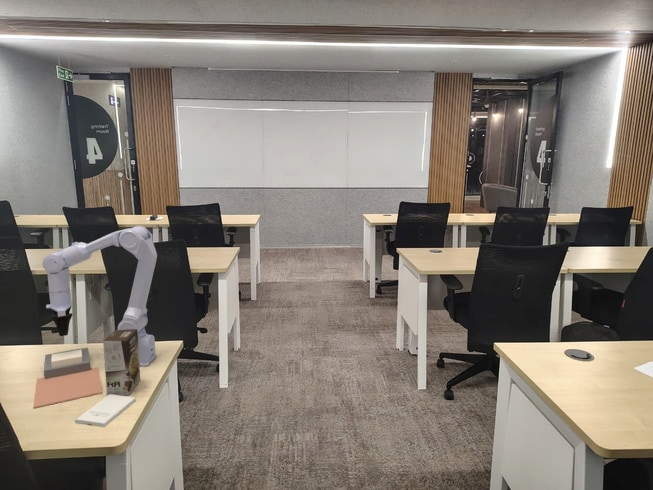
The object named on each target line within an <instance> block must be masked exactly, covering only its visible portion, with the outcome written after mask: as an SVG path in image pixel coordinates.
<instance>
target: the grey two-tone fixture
mask: <svg viewBox="0 0 653 490" xmlns="http://www.w3.org/2000/svg"><path fill="white" fill-rule="evenodd" d="M75 350H81V351H82V363H77V364H72V365H66V366H61V367H55V368H52V364H51V358H52V354H57V353H63V352H69V351H75ZM90 359H91V358H90V352H89V347H82V348H77V349H72V350H65V351H60V352H59V351H58V352H54V353H49V354H48V353H47V354H45V355H44V365H43V366H44V367H43V375H44V376H43V377H45V379H48V378H53V377H59V376H64V375H69V374H74V373H79V372H84V371H89V370H91V368H92V367H91V360H90Z"/></svg>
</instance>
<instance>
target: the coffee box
mask: <svg viewBox="0 0 653 490" xmlns="http://www.w3.org/2000/svg"><path fill="white" fill-rule="evenodd" d="M102 342H103V356H104V357H103V360H104V373H105V375H104V376H105V386H106V397H107V396H108V395H110V394H112V395H120V396H130V395H131V393H132V392H133V391H134V389H135V388H136V387H137V385H138V384H139V383H140V381H141V369H140V368H141V366H140V364H139V349H138V333H137V329H126V330H118V329H115V330H114V331H113V332H112V333H111V334H109V335H108V336H107V337H106V338H105V339H103V340H102Z"/></svg>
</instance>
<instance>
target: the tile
mask: <svg viewBox="0 0 653 490" xmlns="http://www.w3.org/2000/svg"><path fill="white" fill-rule="evenodd" d="M74 350H75V351H70V350H68V351H69V352H64V351H62V352H63V353H58V352H56V353H57V354H53V353H51V354H52V358H51V364H52V368H55V367H61V366H66V365H72V364H77V363H82V351H81V350H76V349H74Z"/></svg>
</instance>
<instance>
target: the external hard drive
mask: <svg viewBox="0 0 653 490" xmlns="http://www.w3.org/2000/svg"><path fill="white" fill-rule="evenodd" d="M135 402H136V397H134V396H129V395H112V394H110V395H108V396H107V395H106V396H105V397H104V398H103V399H101V400H100V401H99V402H97V403H95V404H94V405H93V406H92V407H90V408H89V409H88V410H86V412H84V413H82V414H81V415H80V416H78V417H76V419H74V422H75V424H82V425H90V426H96V427H102V428H105V427H106V426H107V425H109V424H110V423H111V422H113V420H114V419H116V418H117V417H118V416H120V414H122V413H123V412H124V411H125V410H127V409H128V408H129V407H130V406H132V405H133V404H134V403H135Z"/></svg>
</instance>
